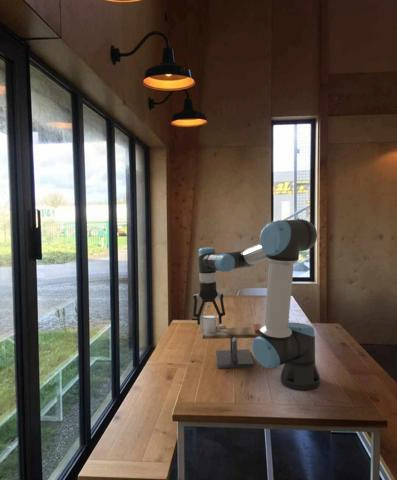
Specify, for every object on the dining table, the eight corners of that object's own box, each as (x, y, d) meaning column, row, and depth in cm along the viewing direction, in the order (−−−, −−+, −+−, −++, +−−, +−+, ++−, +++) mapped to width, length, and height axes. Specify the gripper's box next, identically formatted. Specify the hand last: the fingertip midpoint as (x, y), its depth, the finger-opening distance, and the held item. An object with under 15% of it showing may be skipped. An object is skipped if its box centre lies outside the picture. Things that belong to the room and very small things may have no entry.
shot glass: (207, 328, 185) (207, 314, 184) (219, 331, 181) (219, 316, 180) (198, 332, 180) (198, 317, 179) (210, 335, 175) (210, 319, 175)
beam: (261, 332, 185) (261, 323, 185) (265, 340, 174) (265, 330, 174) (202, 334, 186) (202, 324, 185) (202, 341, 175) (202, 331, 174)
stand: (249, 352, 190) (248, 325, 189) (254, 366, 172) (253, 337, 171) (216, 353, 190) (214, 327, 189) (217, 368, 172) (216, 339, 171)
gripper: (229, 279, 182) (231, 327, 184) (186, 281, 182) (188, 329, 184) (230, 282, 175) (232, 332, 176) (185, 283, 175) (187, 334, 176)
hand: (209, 330), depth 180 cm, fingers open, 7 cm apart
